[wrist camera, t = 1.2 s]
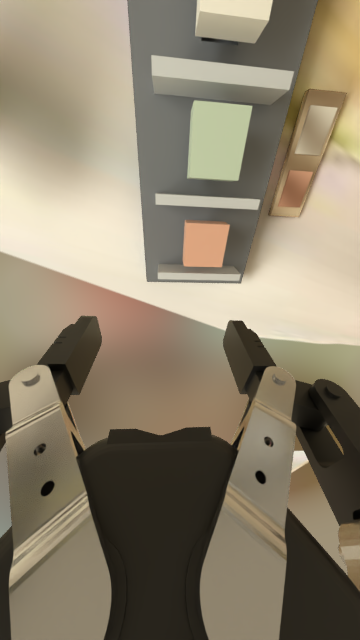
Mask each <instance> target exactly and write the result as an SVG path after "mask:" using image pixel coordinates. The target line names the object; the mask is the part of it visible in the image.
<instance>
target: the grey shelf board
mask: <svg viewBox="0 0 360 640" xmlns="http://www.w3.org/2000/svg"><path fill="white" fill-rule="evenodd" d="M127 1H128V16H129V30H130V45H131V59H132V74H133V88H134V103H135V117H136V132H137V146H138V161H139V175H140V190H141V204H142V219H143V233H144V248H145V262H146V277H147V282H194V283H241V281H242V277H243V274H244V270H245V266H246V263H247V259H248V255H249V252H250V248H251V244H252V241H253V237H254V233H255V230H256V226H257V222H258V219H259V215H260V211H261V208H262V204H263V200H264V196H265V193H266V189H267V185H268V182H269V178H270V174H271V171H272V167H273V163H274V160H275V156H276V152H277V149H278V145H279V141H280V138H281V134H282V130H283V127H284V123H285V119H286V116H287V112H288V108H289V105H290V101H291V97H292V94H293V90H294V86H295V83H296V79H297V75H298V72H299V68H300V64H301V60H302V57H303V53H304V49H305V46H306V42H307V38H308V35H309V31H310V27H311V24H312V20H313V16H314V13H315V9H316V5H317V2H318V0H273V2H272V7H271V12H270V17H269V21H268V23H267V25H266V26H265V28H264V29H263V31H262V33H261V34H260V36H259V38H258V39H257V41H256V43H247V42H239V41H231V40H223V39H215V38H207V37H199V36H195V29H196V11H197V0H127ZM194 100H198V101H208V102H218V103H229V104H239V105H249V106H252V111H251V117H250V122H249V127H248V132H247V138H246V143H245V148H244V153H243V158H242V164H241V169H240V174H239V179H238V181H216V180H200V179H187V172H188V154H189V136H190V118H191V109H192V106H193V102H194ZM185 220H201V221H223V222H226V223H228V224H229V225H230V226H229V232H228V237H227V242H226V247H225V253H224V258H223V263H222V267H188V266H184V264H183V244H184V226H185Z"/></svg>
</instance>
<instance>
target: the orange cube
mask: <svg viewBox="0 0 360 640" xmlns="http://www.w3.org/2000/svg"><path fill="white" fill-rule="evenodd" d="M229 226H230V225H229V224H228V223H226V222H223V221H201V220H185V226H184V244H183V264H184V266H188V267H222V263H223V258H224V253H225V247H226V242H227V237H228V232H229Z"/></svg>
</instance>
